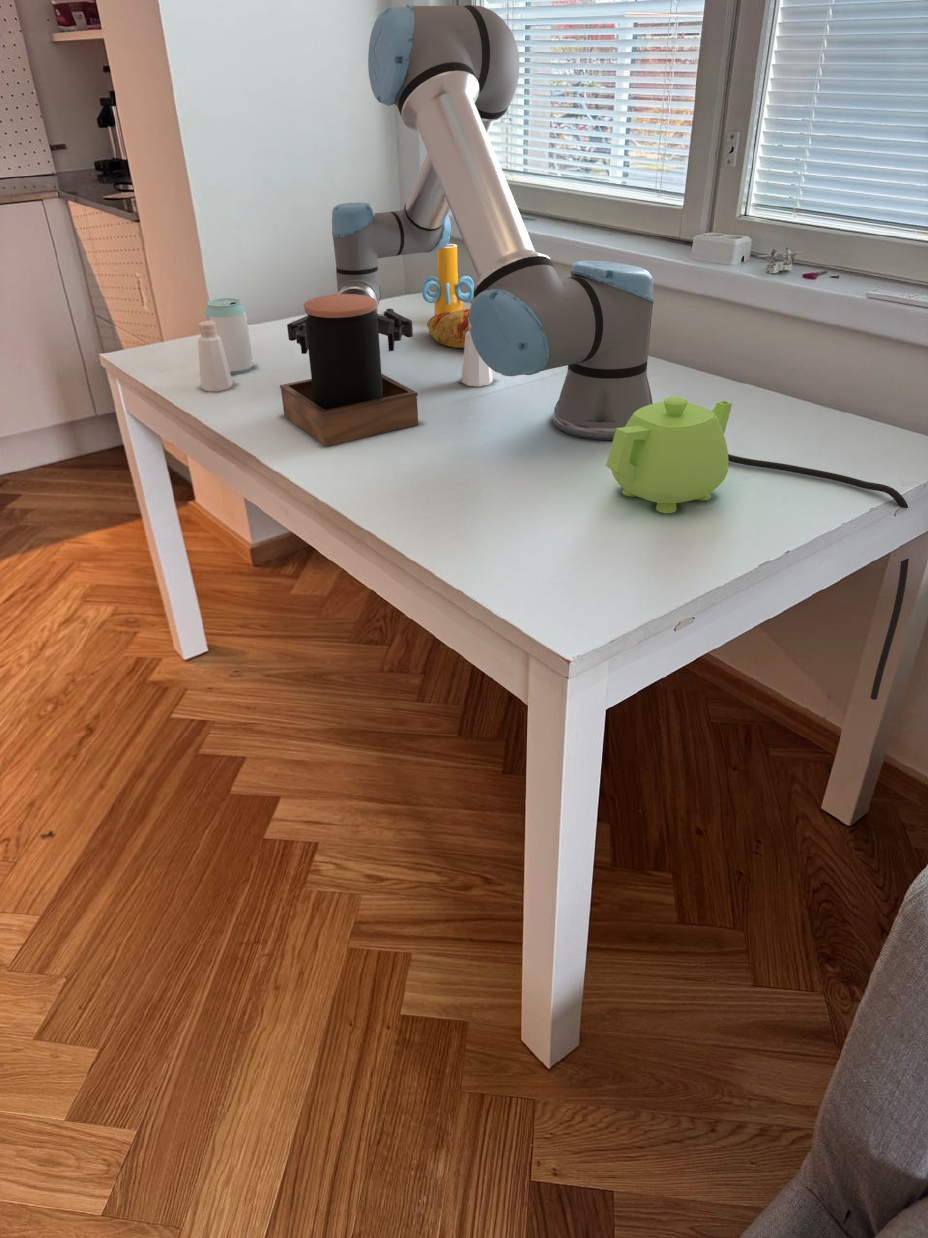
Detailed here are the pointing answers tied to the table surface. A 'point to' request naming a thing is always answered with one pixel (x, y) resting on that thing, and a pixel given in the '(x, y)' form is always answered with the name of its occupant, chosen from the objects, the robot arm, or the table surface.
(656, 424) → the teapot
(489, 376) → the pepper shaker
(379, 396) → the coffee jar
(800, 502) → the table surface
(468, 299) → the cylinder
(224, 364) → the salt shaker
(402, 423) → the wooden tray
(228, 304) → the can
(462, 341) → the croissant
